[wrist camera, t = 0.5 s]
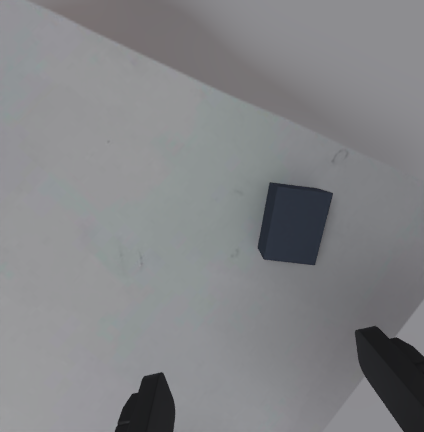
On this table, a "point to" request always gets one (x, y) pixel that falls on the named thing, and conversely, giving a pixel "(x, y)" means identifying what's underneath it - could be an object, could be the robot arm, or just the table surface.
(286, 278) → the table surface
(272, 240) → the small block
